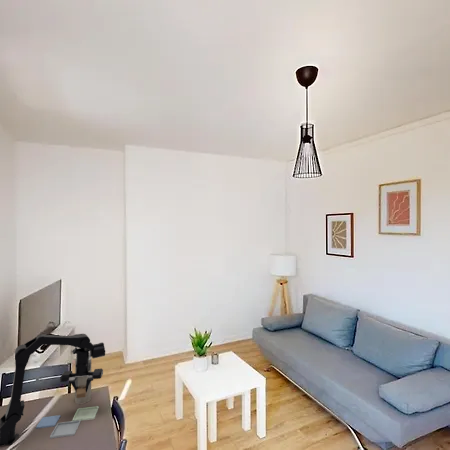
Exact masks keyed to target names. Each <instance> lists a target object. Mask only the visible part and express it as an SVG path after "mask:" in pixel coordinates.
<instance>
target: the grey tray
mask: <svg viewBox="0 0 450 450" xmlns="http://www.w3.org/2000/svg"><path fill="white" fill-rule="evenodd" d="M80 424H81V420H78V421H72V420H71V421H63V422H57V423H56V425H55V426H54V429H53V430H52V432H51V434H50V436H49V439H51V440H52V439H56V438H64V437H72V436H73V437H74V436H75V435H76V432H77V431H78V428H79V426H80Z"/></svg>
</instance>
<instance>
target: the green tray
mask: <svg viewBox="0 0 450 450" xmlns="http://www.w3.org/2000/svg"><path fill="white" fill-rule="evenodd" d="M99 407H100V406H99V405H96V406H89V407H87V406H86V407H79V408H77V410H76V412H75V414H74V416H73V417H72V420H71V421H78V420H81V421H89V420H95V419H96V416H97V414H98V411H99Z"/></svg>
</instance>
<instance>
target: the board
mask: <svg viewBox="0 0 450 450" xmlns="http://www.w3.org/2000/svg"><path fill="white" fill-rule="evenodd" d="M60 418H61V414H59V415H52V416H51V415H50V416H43V417H41V419H40V421H39V422H38V424H37V425H36V427H35V429H46V428H52V427H54V428H55V427H56V425H57V424H58V423H59V420H60Z"/></svg>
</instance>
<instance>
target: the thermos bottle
mask: <svg viewBox="0 0 450 450" xmlns="http://www.w3.org/2000/svg"><path fill="white" fill-rule="evenodd" d="M84 349H86V348H84ZM90 362H91V363H92V357H90V353H89V363H90ZM74 366H75V368H74V369H75V370H74V373H76V359H75V364H74ZM89 372H92V368H91V369H90V371H89ZM87 379H88V376H87V377H78V387H79V386H83V385H86V381H87ZM76 396H77V393H76V391H75V390H74V402H75V404H76V405H77V404H78V405H82V404H86V403H88V402H90V401H91V400H92V381H91V382H90V385H89V388H88V391H87V395H86V397H82V398H76Z"/></svg>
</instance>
